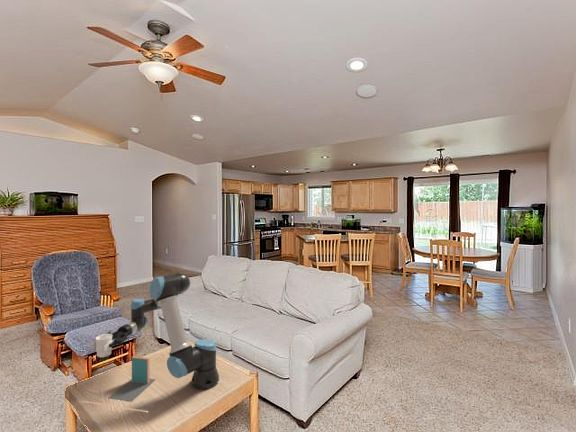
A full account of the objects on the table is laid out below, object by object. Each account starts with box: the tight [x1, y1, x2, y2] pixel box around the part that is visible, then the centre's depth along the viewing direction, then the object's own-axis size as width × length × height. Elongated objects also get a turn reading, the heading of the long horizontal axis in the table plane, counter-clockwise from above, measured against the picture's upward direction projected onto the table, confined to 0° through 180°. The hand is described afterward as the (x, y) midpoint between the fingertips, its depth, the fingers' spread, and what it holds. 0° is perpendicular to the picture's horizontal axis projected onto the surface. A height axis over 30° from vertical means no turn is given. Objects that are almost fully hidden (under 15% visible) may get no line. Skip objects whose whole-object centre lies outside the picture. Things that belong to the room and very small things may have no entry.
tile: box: [131, 355, 150, 384], centre depth 170 cm, size 10×2×14 cm, turn 79°
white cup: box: [95, 333, 113, 358], centre depth 166 cm, size 8×8×10 cm
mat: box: [107, 378, 157, 403], centre depth 165 cm, size 14×20×1 cm
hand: (97, 347), depth 162 cm, fingers closed on white cup, 8 cm apart
